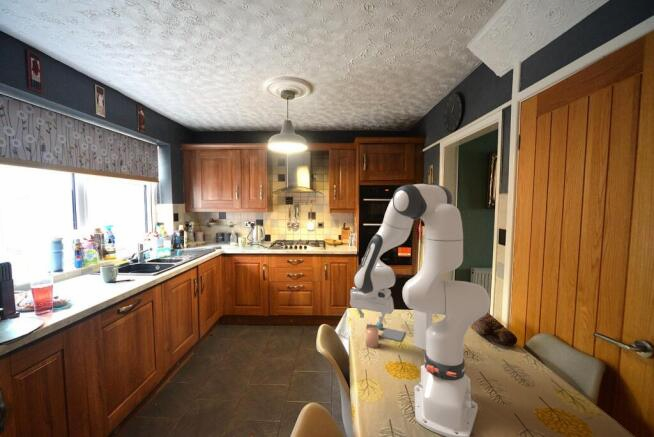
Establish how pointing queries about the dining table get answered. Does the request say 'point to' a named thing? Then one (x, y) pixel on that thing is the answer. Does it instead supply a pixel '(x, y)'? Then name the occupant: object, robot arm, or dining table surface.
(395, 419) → the dining table surface
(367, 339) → the pink rounded cylinder
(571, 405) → the dining table surface
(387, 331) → the coaster
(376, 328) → the walnut block
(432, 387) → the robot arm
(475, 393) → the dining table surface
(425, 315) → the milk
